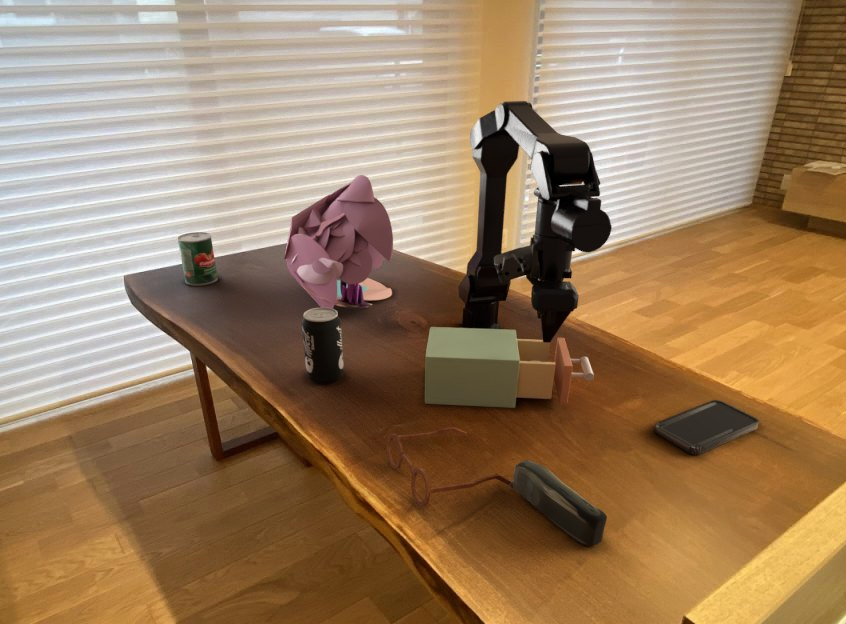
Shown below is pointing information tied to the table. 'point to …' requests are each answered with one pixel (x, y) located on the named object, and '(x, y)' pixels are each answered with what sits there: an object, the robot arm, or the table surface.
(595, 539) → the dark grey long block
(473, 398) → the cabinet
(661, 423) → the phone
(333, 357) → the beverage can
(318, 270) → the flower arrangement
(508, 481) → the glasses
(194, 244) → the canned tomato
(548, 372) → the drawer
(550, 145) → the robot arm
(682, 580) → the table surface
